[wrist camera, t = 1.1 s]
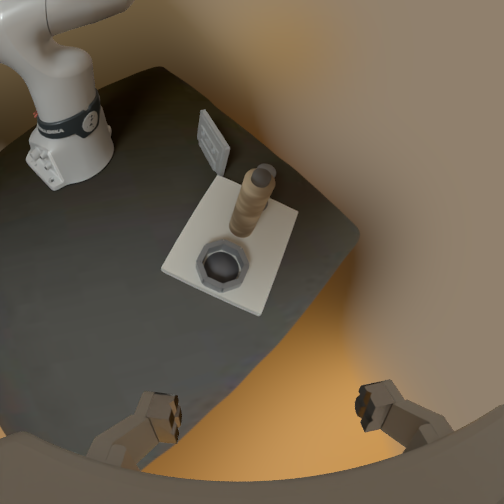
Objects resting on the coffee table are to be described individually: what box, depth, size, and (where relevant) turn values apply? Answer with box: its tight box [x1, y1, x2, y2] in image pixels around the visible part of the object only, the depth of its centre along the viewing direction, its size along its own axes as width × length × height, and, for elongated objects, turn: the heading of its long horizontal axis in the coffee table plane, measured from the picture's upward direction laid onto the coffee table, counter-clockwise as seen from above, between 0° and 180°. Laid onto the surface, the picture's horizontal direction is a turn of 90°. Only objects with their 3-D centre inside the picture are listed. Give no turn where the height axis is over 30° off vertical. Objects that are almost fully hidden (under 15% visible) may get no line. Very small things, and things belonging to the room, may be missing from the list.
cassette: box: [197, 110, 230, 176], centre depth 48 cm, size 12×2×8 cm, turn 28°
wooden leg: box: [229, 168, 275, 238], centre depth 38 cm, size 4×4×13 cm
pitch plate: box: [161, 164, 298, 316], centre depth 40 cm, size 16×20×10 cm
